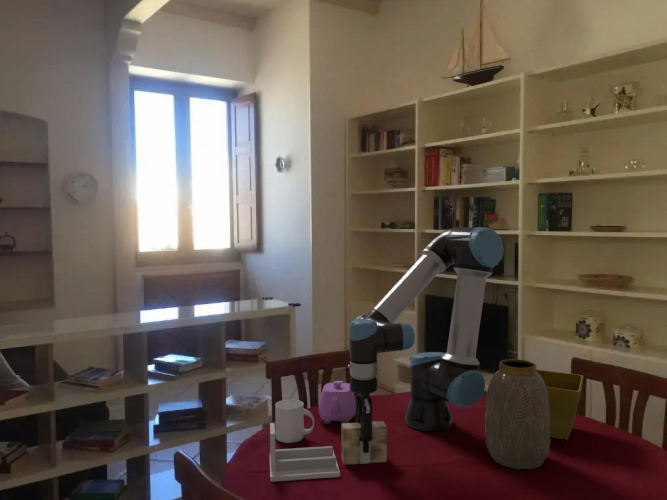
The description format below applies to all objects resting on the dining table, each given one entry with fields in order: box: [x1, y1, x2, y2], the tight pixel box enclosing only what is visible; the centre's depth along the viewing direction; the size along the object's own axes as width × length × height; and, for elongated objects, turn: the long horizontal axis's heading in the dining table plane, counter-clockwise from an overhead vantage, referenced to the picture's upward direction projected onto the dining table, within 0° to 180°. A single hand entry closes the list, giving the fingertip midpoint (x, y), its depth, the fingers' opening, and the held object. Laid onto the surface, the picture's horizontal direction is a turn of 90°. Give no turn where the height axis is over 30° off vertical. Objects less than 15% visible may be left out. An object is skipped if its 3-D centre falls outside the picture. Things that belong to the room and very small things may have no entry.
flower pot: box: [536, 369, 584, 440], centre depth 173 cm, size 19×19×17 cm
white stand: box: [269, 422, 341, 483], centre depth 149 cm, size 18×14×11 cm
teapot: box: [318, 380, 356, 424], centre depth 184 cm, size 20×12×13 cm, turn 174°
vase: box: [484, 358, 551, 470], centre depth 152 cm, size 17×17×27 cm
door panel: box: [340, 420, 388, 465], centre depth 153 cm, size 12×4×10 cm, turn 97°
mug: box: [274, 398, 315, 444], centre depth 168 cm, size 9×12×11 cm
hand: (363, 458), depth 153 cm, fingers closed on door panel, 4 cm apart
